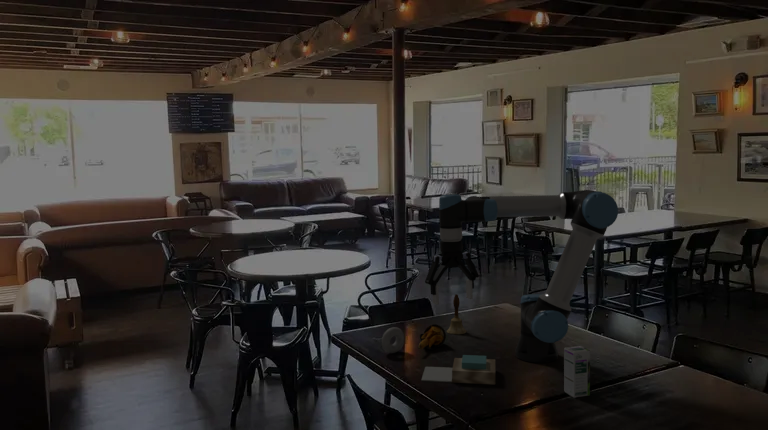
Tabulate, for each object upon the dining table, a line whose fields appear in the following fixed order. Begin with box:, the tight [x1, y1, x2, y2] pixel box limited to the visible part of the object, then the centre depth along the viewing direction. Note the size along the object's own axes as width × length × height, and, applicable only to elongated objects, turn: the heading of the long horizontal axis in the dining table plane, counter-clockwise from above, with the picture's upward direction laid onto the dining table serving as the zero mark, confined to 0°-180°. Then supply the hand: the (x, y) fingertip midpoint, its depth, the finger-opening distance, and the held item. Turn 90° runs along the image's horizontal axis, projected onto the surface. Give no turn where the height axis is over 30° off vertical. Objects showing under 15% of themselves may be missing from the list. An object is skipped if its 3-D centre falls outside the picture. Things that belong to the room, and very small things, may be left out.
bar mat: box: [421, 366, 453, 383], centre depth 216 cm, size 10×13×1 cm
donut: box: [381, 326, 405, 354], centre depth 239 cm, size 10×4×10 cm, turn 125°
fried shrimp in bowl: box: [417, 323, 447, 351], centre depth 243 cm, size 9×11×18 cm
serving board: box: [451, 357, 496, 385], centre depth 213 cm, size 14×13×4 cm
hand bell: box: [446, 293, 467, 335], centre depth 265 cm, size 8×8×16 cm
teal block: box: [461, 354, 487, 369], centre depth 213 cm, size 8×8×2 cm
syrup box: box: [563, 345, 591, 399], centre depth 196 cm, size 6×6×14 cm
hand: (452, 301), depth 217 cm, fingers open, 13 cm apart
